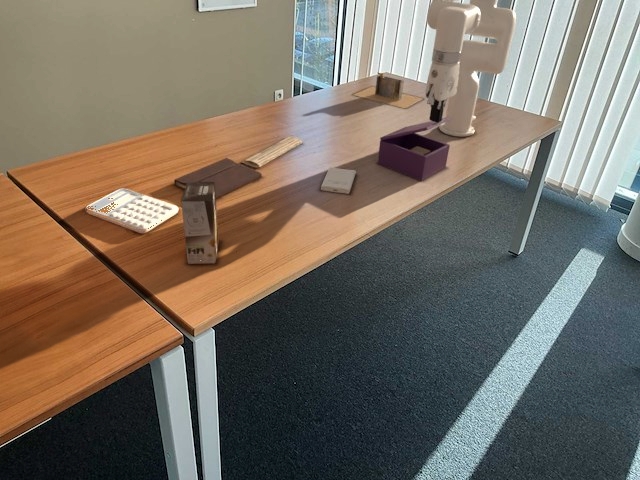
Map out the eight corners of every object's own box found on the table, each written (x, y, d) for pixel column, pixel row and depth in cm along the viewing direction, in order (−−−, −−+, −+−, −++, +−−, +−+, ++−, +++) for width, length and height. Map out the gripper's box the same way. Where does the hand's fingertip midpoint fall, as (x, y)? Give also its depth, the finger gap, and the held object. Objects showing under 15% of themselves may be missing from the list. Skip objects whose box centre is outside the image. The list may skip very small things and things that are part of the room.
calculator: (143, 235, 127) (142, 228, 126) (84, 213, 135) (82, 206, 134) (180, 211, 137) (180, 205, 136) (123, 192, 145) (122, 186, 144)
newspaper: (259, 169, 160) (259, 163, 159) (241, 162, 163) (240, 157, 162) (302, 144, 177) (302, 139, 176) (285, 139, 180) (285, 134, 179)
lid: (452, 119, 159) (451, 116, 159) (427, 130, 150) (426, 127, 150) (405, 129, 172) (405, 127, 171) (380, 140, 163) (379, 137, 163)
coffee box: (216, 263, 119) (211, 201, 110) (187, 264, 118) (180, 201, 109) (219, 241, 126) (215, 181, 118) (192, 241, 126) (185, 181, 117)
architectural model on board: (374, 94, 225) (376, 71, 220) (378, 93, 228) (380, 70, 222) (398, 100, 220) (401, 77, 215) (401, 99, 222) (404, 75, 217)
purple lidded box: (445, 167, 167) (449, 144, 163) (421, 181, 158) (425, 157, 154) (402, 151, 176) (405, 129, 172) (377, 163, 167) (380, 140, 163)
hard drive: (355, 175, 160) (349, 194, 149) (328, 172, 161) (320, 190, 151) (355, 170, 159) (349, 189, 148) (329, 167, 160) (321, 185, 150)
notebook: (261, 178, 155) (261, 171, 154) (211, 202, 142) (210, 195, 141) (225, 163, 163) (225, 157, 162) (174, 184, 149) (173, 178, 148)
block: (415, 160, 169) (417, 145, 166) (428, 165, 166) (430, 150, 163) (406, 165, 165) (408, 150, 163) (419, 170, 163) (421, 155, 160)
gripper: (443, 64, 138) (432, 130, 148) (471, 55, 148) (459, 118, 158) (419, 58, 142) (410, 123, 152) (448, 49, 152) (437, 111, 162)
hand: (435, 120), depth 155 cm, fingers closed
